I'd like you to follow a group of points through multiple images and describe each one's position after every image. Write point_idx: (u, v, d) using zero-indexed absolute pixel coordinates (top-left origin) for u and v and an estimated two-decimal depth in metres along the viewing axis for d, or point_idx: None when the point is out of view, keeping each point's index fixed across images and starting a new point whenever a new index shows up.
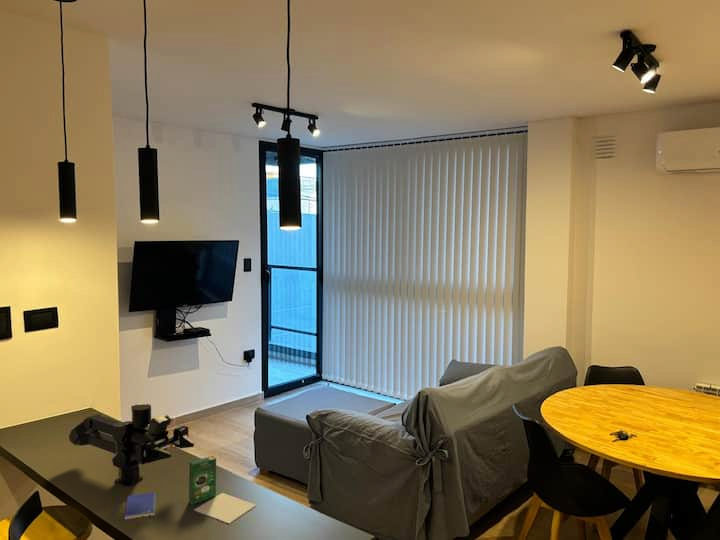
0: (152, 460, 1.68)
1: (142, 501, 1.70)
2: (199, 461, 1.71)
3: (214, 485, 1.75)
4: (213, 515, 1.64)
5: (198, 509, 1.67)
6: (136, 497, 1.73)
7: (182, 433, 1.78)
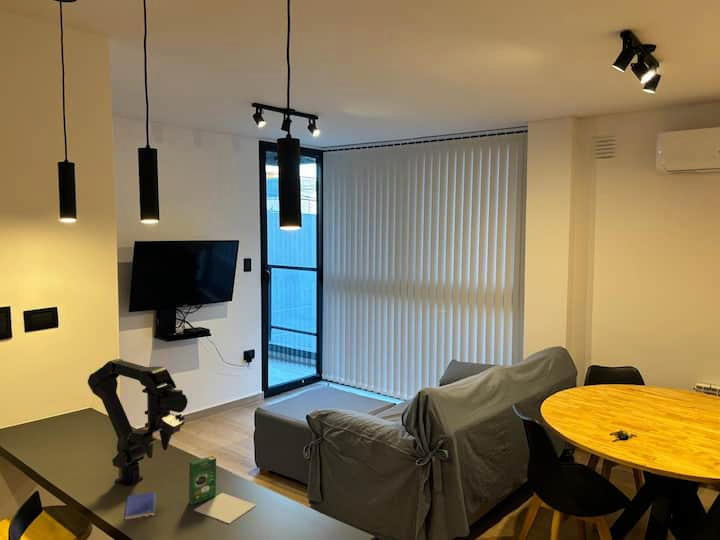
0: None
1: (142, 501, 1.70)
2: (199, 461, 1.71)
3: (214, 485, 1.75)
4: (213, 515, 1.64)
5: (198, 509, 1.67)
6: (136, 497, 1.73)
7: None
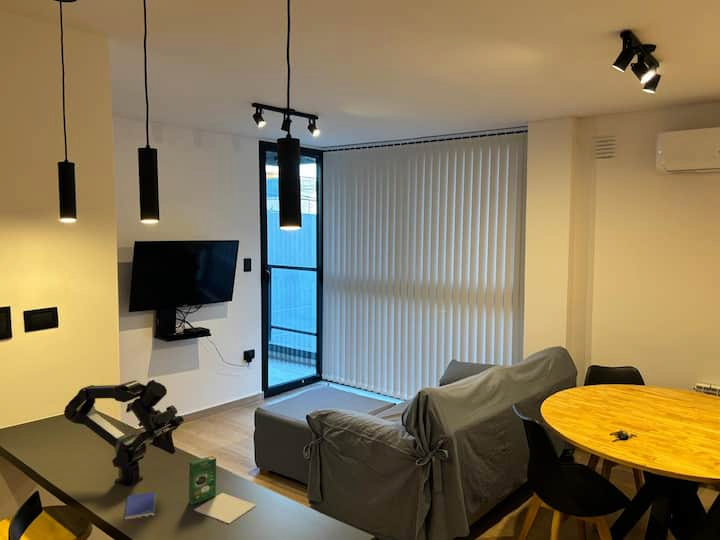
0: (155, 445, 1.77)
1: (142, 501, 1.70)
2: (199, 461, 1.71)
3: (214, 485, 1.75)
4: (213, 515, 1.64)
5: (198, 509, 1.67)
6: (136, 497, 1.73)
7: (169, 433, 1.78)
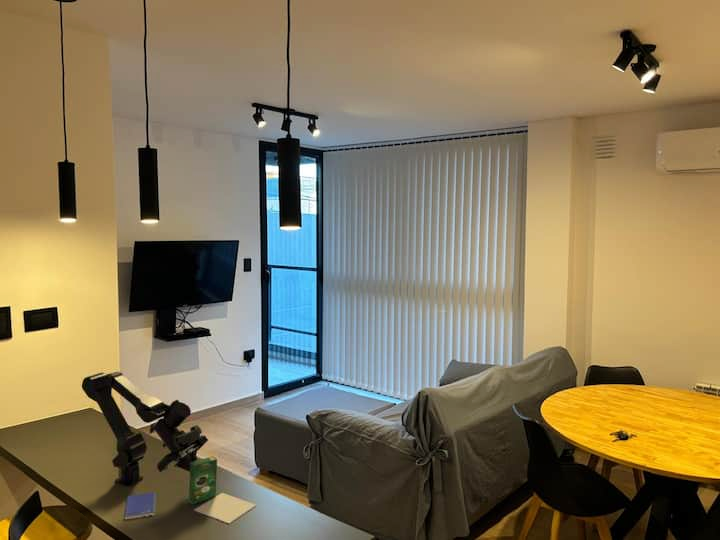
0: (180, 466, 1.74)
1: (142, 501, 1.70)
2: (200, 462, 1.71)
3: (215, 485, 1.74)
4: (213, 515, 1.64)
5: (198, 509, 1.67)
6: (136, 497, 1.73)
7: (194, 454, 1.75)
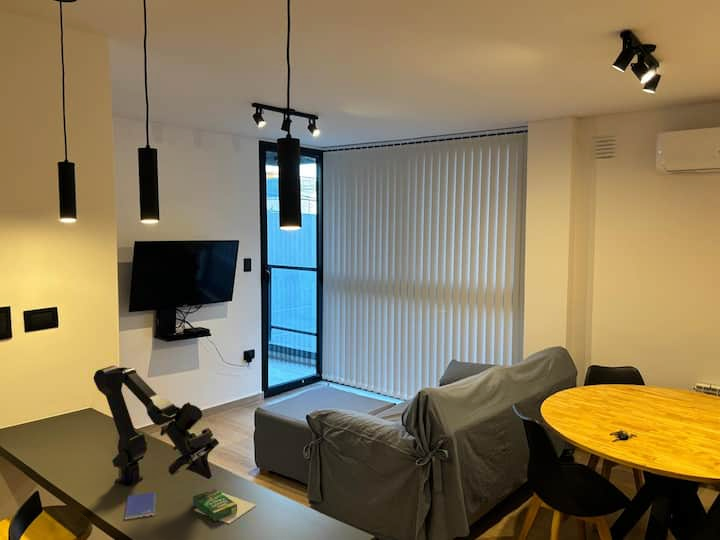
0: (191, 469, 1.72)
1: (142, 501, 1.70)
2: (221, 515, 1.62)
3: None
4: None
5: (198, 509, 1.67)
6: (136, 497, 1.73)
7: (205, 457, 1.74)
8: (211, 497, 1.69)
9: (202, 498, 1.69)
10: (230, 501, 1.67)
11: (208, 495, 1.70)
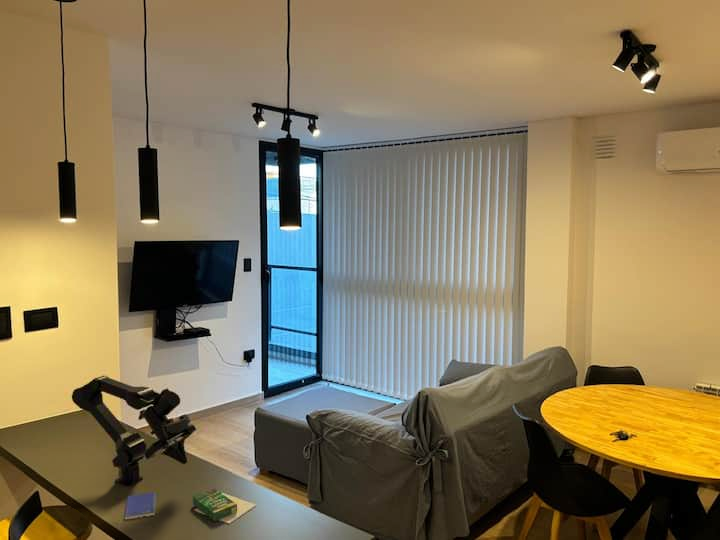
0: (167, 454, 1.75)
1: (142, 501, 1.70)
2: (221, 515, 1.62)
3: None
4: None
5: (198, 509, 1.67)
6: (136, 497, 1.73)
7: (181, 442, 1.77)
8: (211, 497, 1.69)
9: (202, 498, 1.69)
10: (230, 501, 1.67)
11: (208, 495, 1.70)
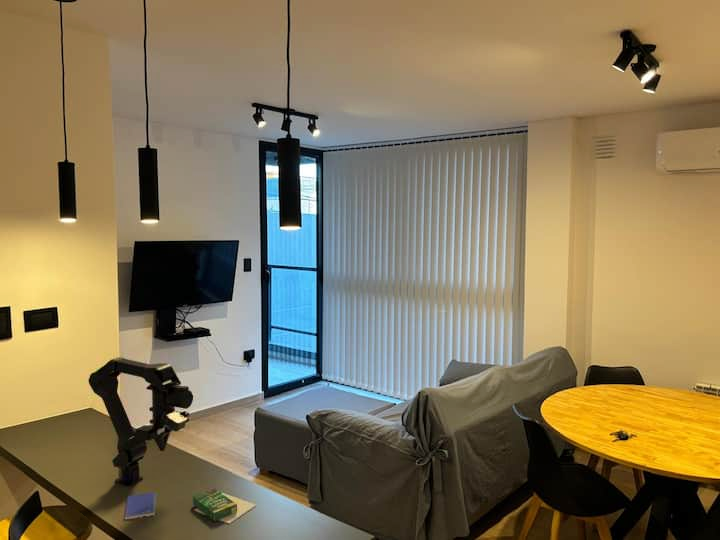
0: None
1: (142, 501, 1.70)
2: (221, 515, 1.62)
3: None
4: None
5: (198, 509, 1.67)
6: (136, 497, 1.73)
7: (169, 432, 1.78)
8: (211, 497, 1.69)
9: (202, 498, 1.69)
10: (230, 501, 1.67)
11: (208, 495, 1.70)
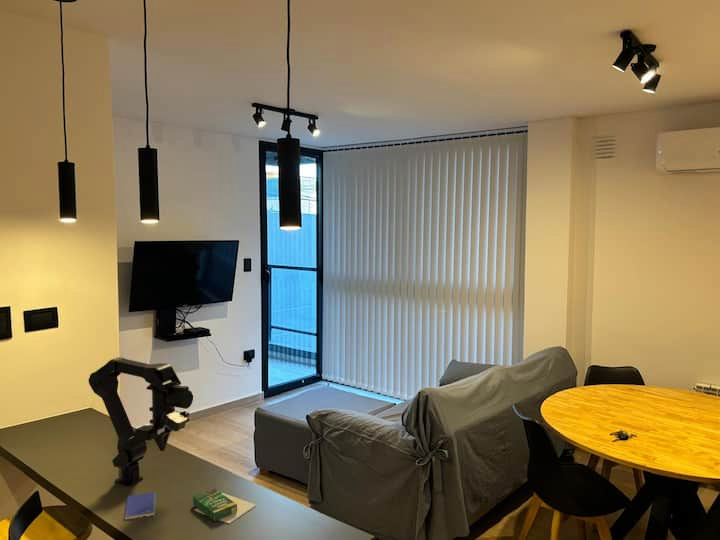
0: None
1: (142, 501, 1.70)
2: (221, 515, 1.62)
3: None
4: None
5: (198, 509, 1.67)
6: (136, 497, 1.73)
7: (169, 432, 1.78)
8: (211, 497, 1.69)
9: (202, 498, 1.69)
10: (230, 501, 1.67)
11: (208, 495, 1.70)
